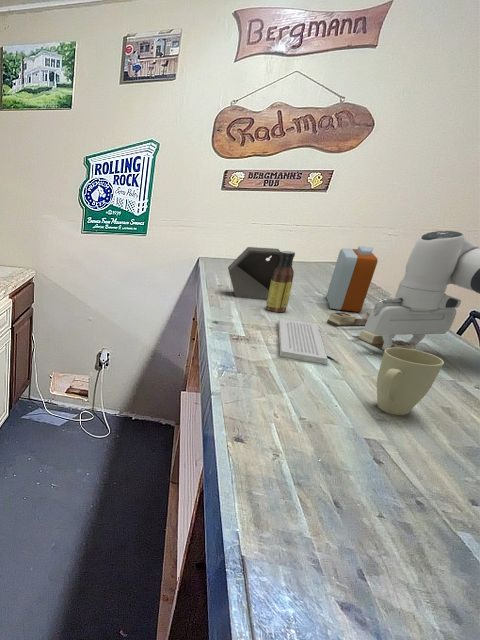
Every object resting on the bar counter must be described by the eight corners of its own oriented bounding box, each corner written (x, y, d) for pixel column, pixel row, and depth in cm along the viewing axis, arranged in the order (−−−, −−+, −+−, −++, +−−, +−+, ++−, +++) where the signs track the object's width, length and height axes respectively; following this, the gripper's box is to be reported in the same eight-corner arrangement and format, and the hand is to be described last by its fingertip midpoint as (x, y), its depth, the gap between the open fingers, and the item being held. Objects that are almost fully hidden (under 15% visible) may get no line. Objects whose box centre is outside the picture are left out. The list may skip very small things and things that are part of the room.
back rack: (375, 321, 146) (379, 310, 145) (391, 327, 141) (395, 316, 139) (325, 322, 145) (329, 311, 144) (339, 328, 140) (343, 317, 138)
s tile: (398, 348, 122) (401, 339, 121) (413, 354, 118) (416, 345, 117) (381, 348, 122) (384, 339, 121) (396, 355, 118) (399, 346, 117)
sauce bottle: (281, 308, 159) (296, 250, 151) (288, 313, 153) (304, 253, 145) (261, 307, 160) (275, 249, 152) (267, 312, 154) (282, 253, 146)
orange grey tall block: (360, 313, 153) (381, 252, 145) (329, 309, 157) (348, 249, 149) (353, 300, 168) (372, 243, 160) (325, 297, 172) (342, 241, 164)
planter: (217, 282, 173) (262, 237, 162) (217, 278, 179) (259, 234, 168) (253, 310, 171) (301, 267, 160) (251, 305, 178) (297, 263, 167)
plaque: (279, 318, 143) (317, 323, 139) (278, 323, 144) (315, 328, 140) (281, 351, 119) (327, 358, 115) (280, 356, 119) (325, 364, 115)
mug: (354, 394, 100) (373, 344, 95) (410, 403, 96) (432, 351, 92) (369, 418, 91) (390, 363, 86) (432, 429, 87) (458, 372, 82)
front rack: (370, 338, 132) (374, 327, 130) (420, 361, 117) (425, 348, 116) (350, 339, 131) (354, 327, 130) (397, 361, 117) (402, 348, 115)
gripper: (388, 302, 111) (370, 354, 116) (468, 301, 112) (445, 353, 117) (368, 295, 117) (351, 345, 122) (443, 294, 118) (423, 344, 123)
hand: (398, 349), depth 120 cm, fingers closed on s tile, 4 cm apart
